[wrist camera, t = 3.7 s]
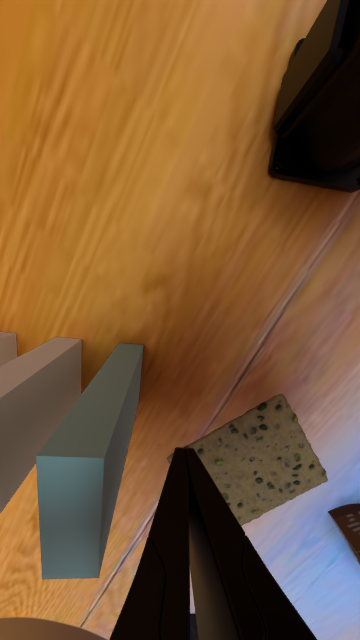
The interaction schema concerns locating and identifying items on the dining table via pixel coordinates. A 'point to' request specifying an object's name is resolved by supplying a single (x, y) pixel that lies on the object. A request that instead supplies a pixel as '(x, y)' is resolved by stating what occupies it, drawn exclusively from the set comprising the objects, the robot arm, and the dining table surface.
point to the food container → (349, 526)
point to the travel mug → (193, 627)
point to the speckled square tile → (260, 459)
